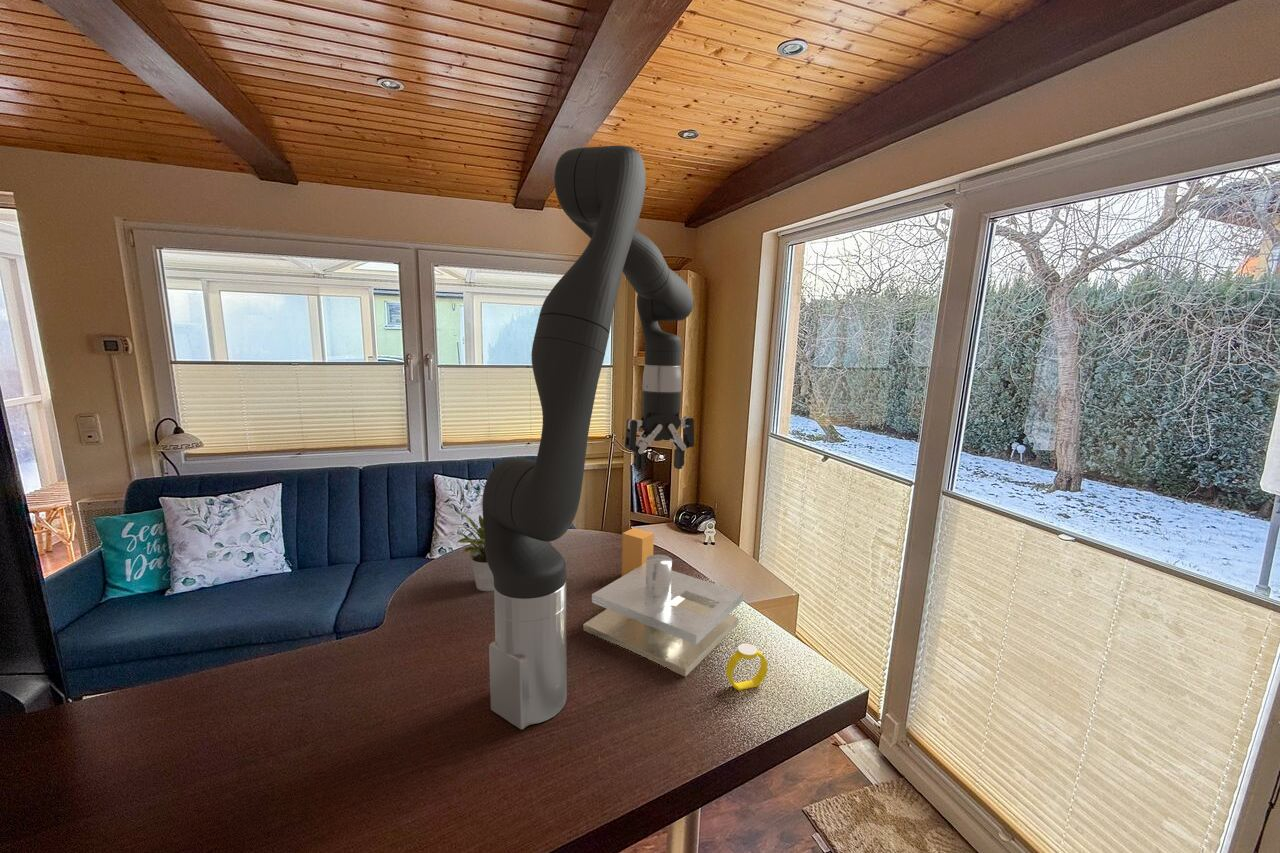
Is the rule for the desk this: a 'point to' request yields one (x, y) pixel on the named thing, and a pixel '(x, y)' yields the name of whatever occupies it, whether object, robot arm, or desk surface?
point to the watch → (748, 653)
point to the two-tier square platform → (664, 614)
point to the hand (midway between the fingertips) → (659, 469)
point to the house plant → (478, 557)
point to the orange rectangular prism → (636, 548)
